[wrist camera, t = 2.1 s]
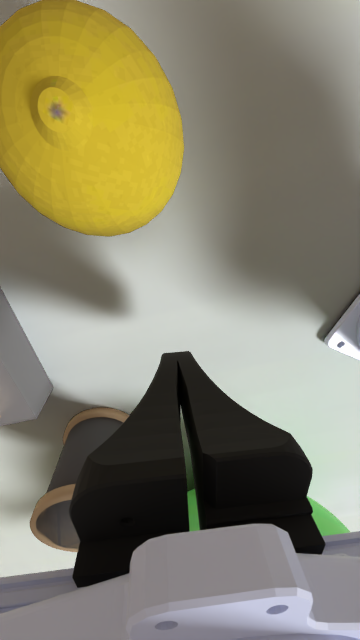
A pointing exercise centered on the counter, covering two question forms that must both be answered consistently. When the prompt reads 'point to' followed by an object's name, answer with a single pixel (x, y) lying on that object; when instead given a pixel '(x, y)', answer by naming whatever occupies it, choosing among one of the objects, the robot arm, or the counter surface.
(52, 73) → the lemon
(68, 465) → the cord spool
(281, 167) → the counter surface
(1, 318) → the breaker strip
